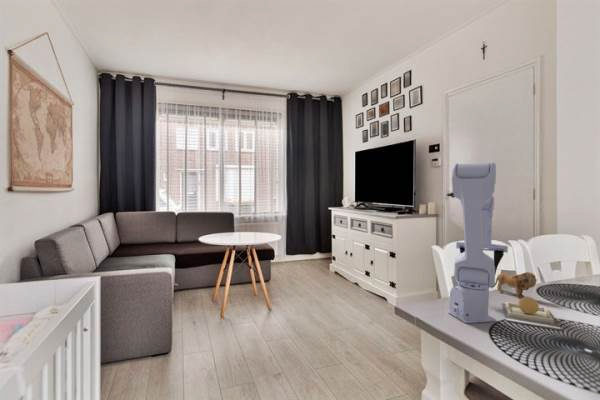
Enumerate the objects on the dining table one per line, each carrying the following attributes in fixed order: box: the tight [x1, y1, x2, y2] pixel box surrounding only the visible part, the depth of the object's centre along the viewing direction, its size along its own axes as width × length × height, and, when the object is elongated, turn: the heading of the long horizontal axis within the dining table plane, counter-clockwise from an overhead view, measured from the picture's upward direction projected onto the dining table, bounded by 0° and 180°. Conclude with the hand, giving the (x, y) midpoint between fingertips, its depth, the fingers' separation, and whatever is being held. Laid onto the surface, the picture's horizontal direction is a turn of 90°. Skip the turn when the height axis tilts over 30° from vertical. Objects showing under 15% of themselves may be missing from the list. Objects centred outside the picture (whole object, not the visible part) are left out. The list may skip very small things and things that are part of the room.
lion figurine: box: [489, 271, 537, 300], centre depth 110 cm, size 15×5×9 cm, turn 31°
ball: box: [517, 296, 540, 314], centre depth 92 cm, size 5×5×5 cm
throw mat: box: [501, 301, 563, 332], centre depth 91 cm, size 16×12×1 cm
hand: (480, 272), depth 104 cm, fingers open, 7 cm apart
